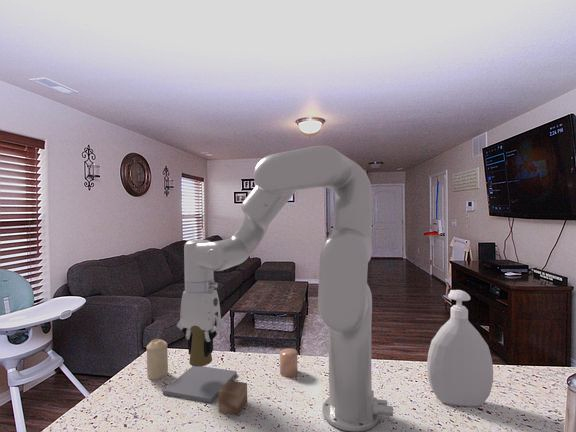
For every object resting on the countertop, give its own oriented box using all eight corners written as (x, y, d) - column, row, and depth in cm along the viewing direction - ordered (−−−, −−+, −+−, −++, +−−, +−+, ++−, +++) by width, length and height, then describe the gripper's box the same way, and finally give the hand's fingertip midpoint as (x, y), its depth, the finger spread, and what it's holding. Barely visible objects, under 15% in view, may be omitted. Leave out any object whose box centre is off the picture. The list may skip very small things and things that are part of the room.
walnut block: (247, 403, 79) (247, 383, 79) (238, 416, 74) (237, 394, 74) (228, 400, 81) (228, 380, 81) (218, 412, 76) (218, 391, 76)
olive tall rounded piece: (206, 367, 84) (205, 325, 84) (184, 365, 86) (184, 324, 85) (215, 356, 90) (215, 317, 90) (195, 355, 92) (195, 316, 91)
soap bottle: (484, 393, 82) (484, 286, 81) (499, 413, 74) (498, 294, 73) (423, 388, 84) (422, 284, 84) (430, 407, 76) (429, 292, 76)
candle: (172, 373, 94) (171, 338, 94) (155, 381, 90) (154, 345, 89) (160, 368, 97) (159, 335, 97) (143, 376, 93) (142, 341, 92)
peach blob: (299, 369, 95) (299, 349, 95) (294, 378, 90) (294, 357, 90) (283, 367, 96) (282, 347, 96) (277, 376, 92) (277, 355, 92)
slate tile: (236, 374, 93) (236, 371, 93) (211, 403, 79) (211, 399, 79) (194, 368, 97) (193, 365, 97) (162, 394, 84) (162, 390, 83)
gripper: (234, 284, 89) (235, 351, 89) (181, 281, 94) (182, 344, 94) (220, 291, 81) (221, 364, 82) (163, 287, 86) (165, 355, 87)
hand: (200, 352), depth 88 cm, fingers closed on olive tall rounded piece, 4 cm apart
